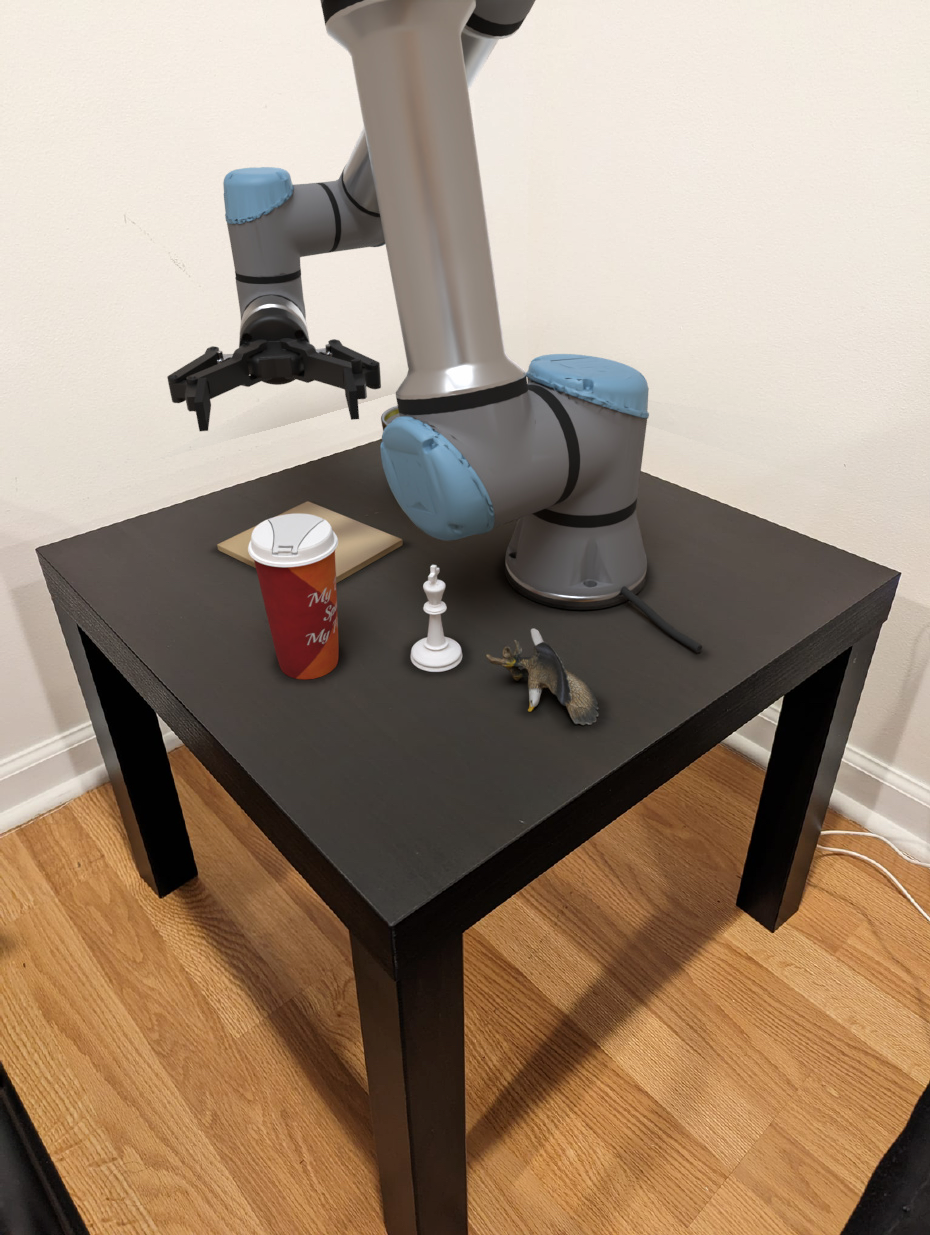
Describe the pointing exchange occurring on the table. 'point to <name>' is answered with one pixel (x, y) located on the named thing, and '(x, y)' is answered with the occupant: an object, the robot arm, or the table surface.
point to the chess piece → (435, 632)
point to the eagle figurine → (550, 679)
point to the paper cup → (299, 591)
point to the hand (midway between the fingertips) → (278, 411)
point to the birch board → (351, 552)
